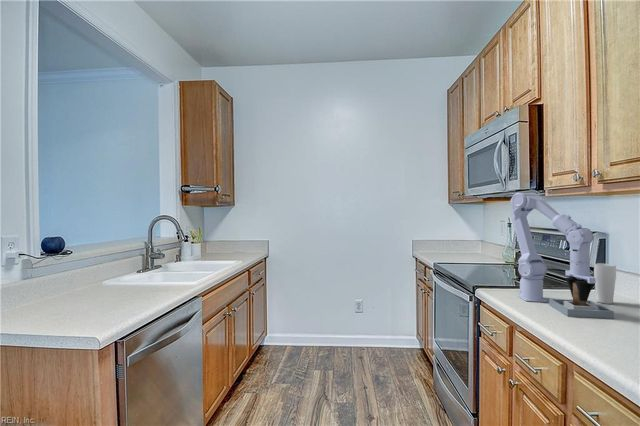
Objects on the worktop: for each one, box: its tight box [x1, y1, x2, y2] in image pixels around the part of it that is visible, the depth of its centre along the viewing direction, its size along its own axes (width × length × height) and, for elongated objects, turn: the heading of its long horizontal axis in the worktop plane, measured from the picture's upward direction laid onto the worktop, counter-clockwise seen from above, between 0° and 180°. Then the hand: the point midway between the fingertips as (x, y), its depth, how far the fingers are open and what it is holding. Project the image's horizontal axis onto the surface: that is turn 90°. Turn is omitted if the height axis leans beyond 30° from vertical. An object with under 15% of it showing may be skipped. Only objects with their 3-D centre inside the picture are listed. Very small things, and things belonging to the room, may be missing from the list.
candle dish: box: [548, 298, 615, 320], centre depth 127 cm, size 14×14×3 cm
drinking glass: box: [593, 263, 617, 305], centre depth 138 cm, size 7×7×15 cm
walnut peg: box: [572, 283, 586, 306], centre depth 127 cm, size 4×4×8 cm
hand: (579, 299), depth 127 cm, fingers closed on walnut peg, 4 cm apart
